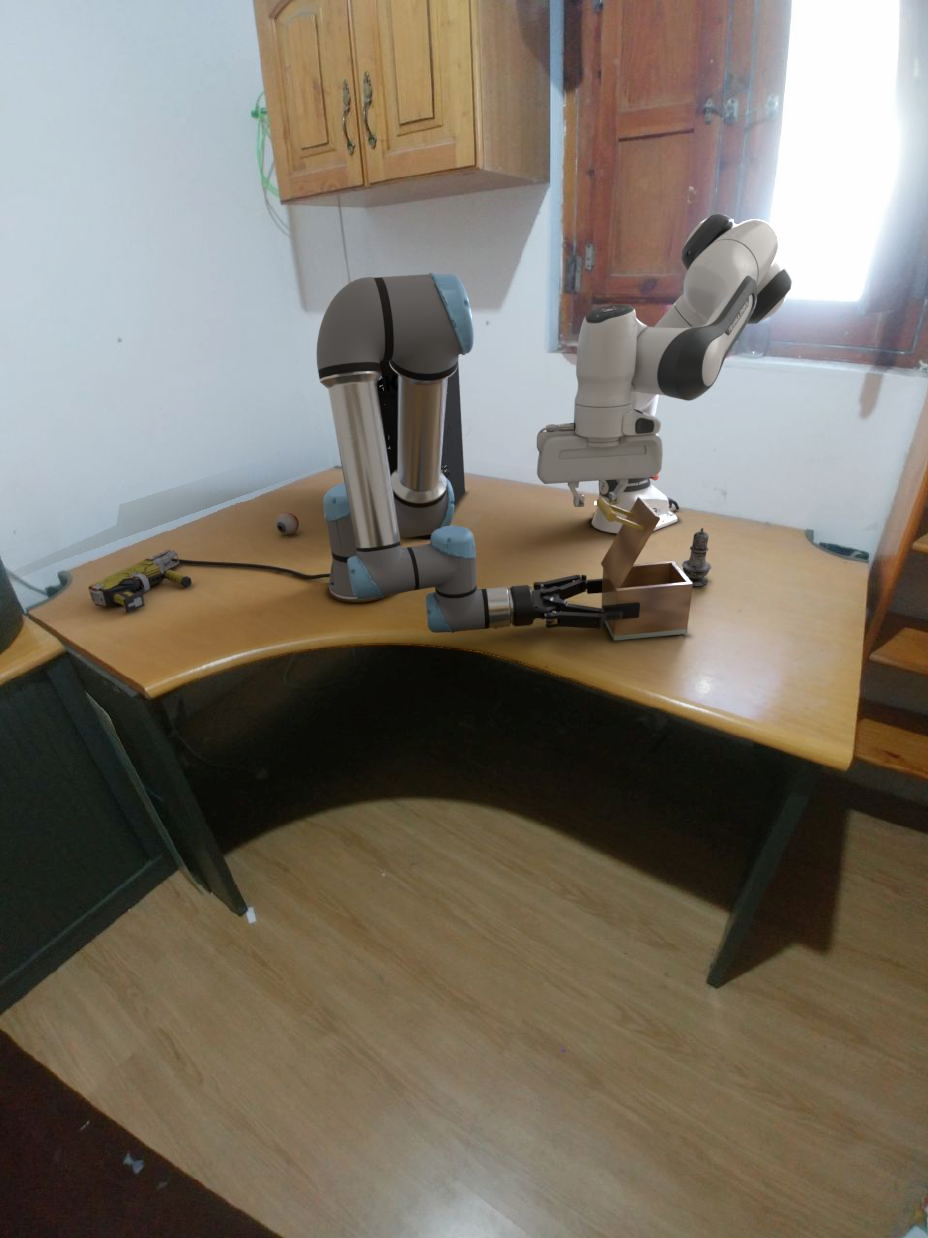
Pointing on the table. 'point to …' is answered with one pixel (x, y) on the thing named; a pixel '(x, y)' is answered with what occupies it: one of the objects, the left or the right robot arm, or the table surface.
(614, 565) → the lid
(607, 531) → the right robot arm
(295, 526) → the eyeball
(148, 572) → the toy gun
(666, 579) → the chest
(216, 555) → the table surface
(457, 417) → the black box
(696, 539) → the salt shaker
